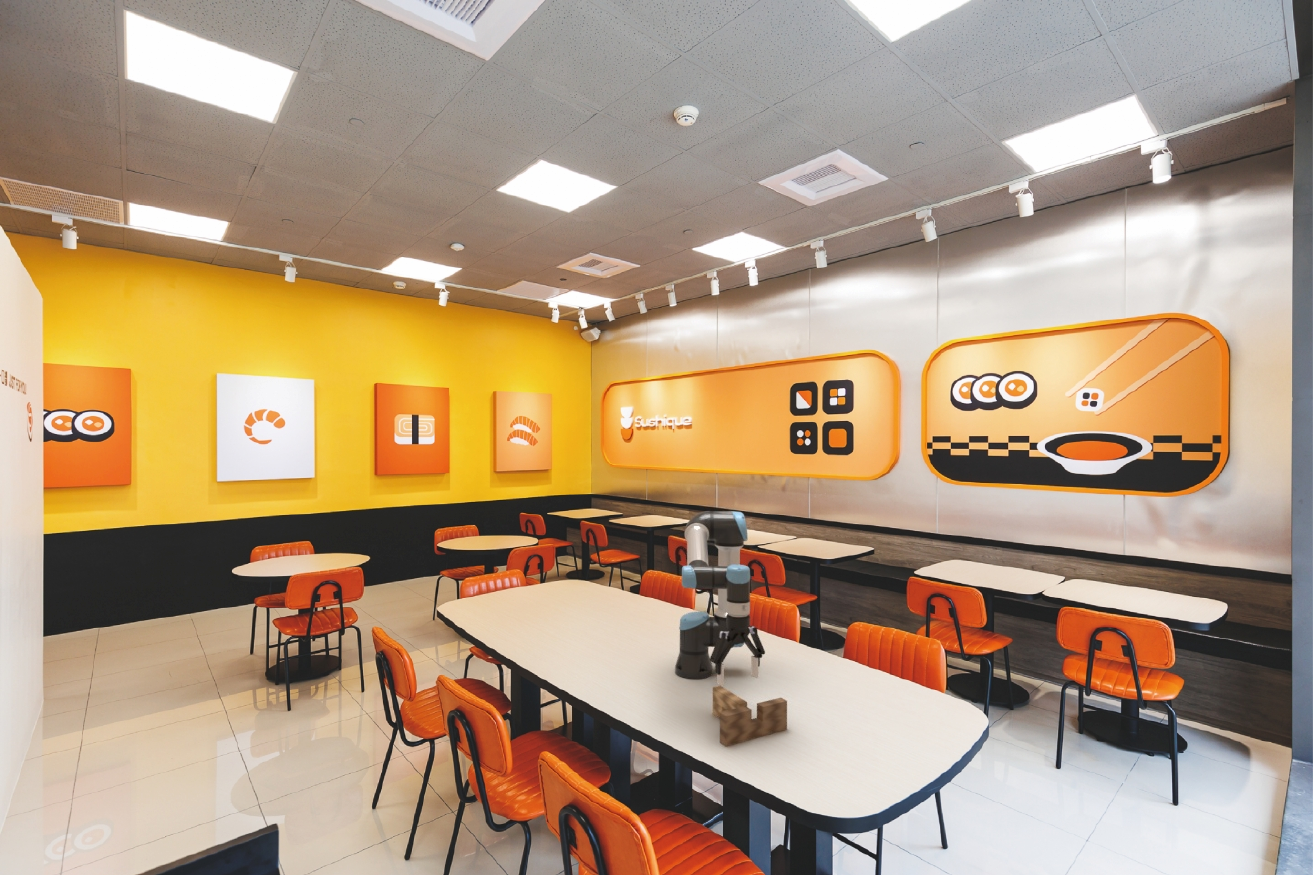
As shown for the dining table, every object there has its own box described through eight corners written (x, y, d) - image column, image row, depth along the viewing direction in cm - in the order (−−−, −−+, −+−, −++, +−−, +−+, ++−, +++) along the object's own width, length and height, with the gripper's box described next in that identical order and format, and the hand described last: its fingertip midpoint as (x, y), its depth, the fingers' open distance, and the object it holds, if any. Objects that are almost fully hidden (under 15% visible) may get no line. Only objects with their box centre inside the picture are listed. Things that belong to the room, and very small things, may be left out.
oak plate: (746, 730, 193) (747, 701, 193) (739, 732, 191) (739, 703, 191) (720, 712, 206) (720, 685, 206) (712, 713, 204) (712, 687, 204)
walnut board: (725, 746, 182) (725, 716, 182) (719, 741, 185) (719, 712, 185) (786, 729, 194) (787, 700, 194) (780, 725, 196) (780, 697, 196)
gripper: (712, 621, 186) (712, 691, 185) (775, 612, 198) (775, 677, 197) (699, 616, 192) (698, 683, 192) (761, 607, 204) (761, 670, 204)
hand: (737, 680), depth 194 cm, fingers open, 13 cm apart
